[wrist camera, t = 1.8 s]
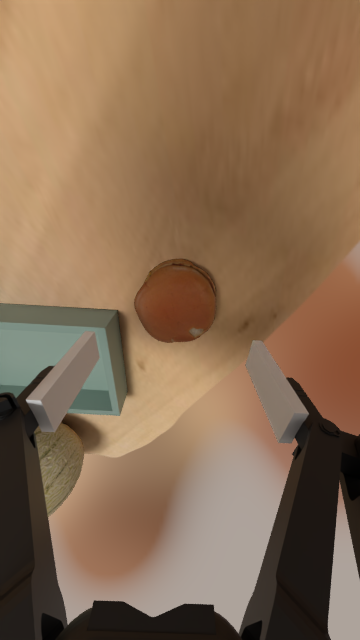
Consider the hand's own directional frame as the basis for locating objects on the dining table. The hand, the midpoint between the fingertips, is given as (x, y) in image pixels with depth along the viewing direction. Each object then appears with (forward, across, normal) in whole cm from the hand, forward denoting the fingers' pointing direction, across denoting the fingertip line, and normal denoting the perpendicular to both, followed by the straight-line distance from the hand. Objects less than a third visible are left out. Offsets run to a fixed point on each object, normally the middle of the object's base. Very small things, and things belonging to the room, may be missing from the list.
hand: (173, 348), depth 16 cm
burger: (+10, 0, +1) cm, 10 cm away
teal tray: (+10, -20, -9) cm, 24 cm away
